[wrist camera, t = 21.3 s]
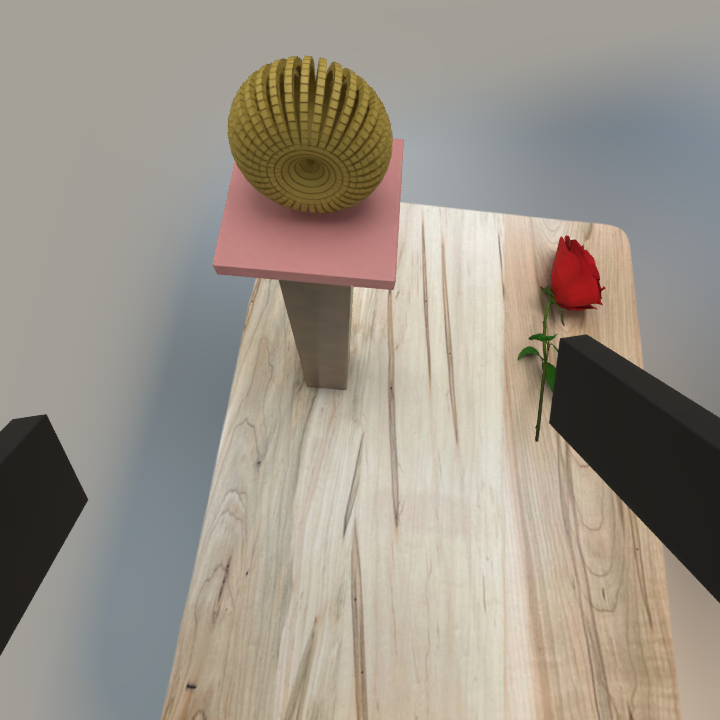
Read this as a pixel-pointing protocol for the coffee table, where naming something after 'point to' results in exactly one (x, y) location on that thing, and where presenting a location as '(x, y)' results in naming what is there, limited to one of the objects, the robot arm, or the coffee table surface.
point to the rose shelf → (313, 236)
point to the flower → (566, 299)
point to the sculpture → (310, 135)
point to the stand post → (321, 330)
